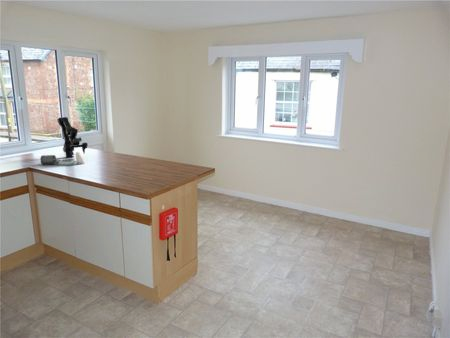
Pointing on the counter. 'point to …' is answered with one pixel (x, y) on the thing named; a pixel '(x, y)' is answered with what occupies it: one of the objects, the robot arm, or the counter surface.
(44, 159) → the motor
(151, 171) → the counter surface
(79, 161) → the pump
